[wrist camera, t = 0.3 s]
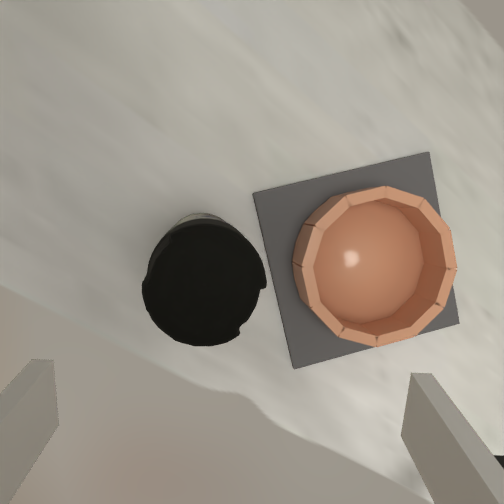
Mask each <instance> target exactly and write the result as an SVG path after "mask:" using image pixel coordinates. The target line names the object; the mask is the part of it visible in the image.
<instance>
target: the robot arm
mask: <svg viewBox="0 0 504 504" xmlns="http://www.w3.org/2000/svg"><path fill="white" fill-rule="evenodd" d="M58 426H59V420H58V408H57V397H56V385H55V373H54V363H53V360H36V359H32V360H31V361H30V362H29V363H28V364H27V365H26V366H25V368H24V369H23V370H22V371H21V372H20V373H19V374H18V375H17V376H16V377H15V378H14V379H13V380H12V381H11V382H10V384H9V385H8V386H7V387H6V388H5V389H4V390H3V391H2V392H1V393H0V504H9V503H10V501H11V500H12V498H13V496H14V495H15V493H16V492H17V490H18V489H19V487H20V485H21V484H22V482H23V481H24V479H25V477H26V476H27V474H28V473H29V471H30V470H31V468H32V467H33V464H34V463H35V462H36V460H37V459H38V457H39V455H40V454H41V452H42V451H43V449H44V447H45V446H46V444H47V443H48V441H49V440H50V438H51V436H52V435H53V433H54V432H55V430H56V429H57V427H58ZM401 437H402V439H403V441H404V443H405V445H406V447H407V449H408V451H409V453H410V455H411V457H412V459H413V461H414V463H415V465H416V467H417V469H418V471H419V473H420V475H421V477H422V479H423V481H424V483H425V485H426V487H427V489H428V491H429V493H430V495H431V497H432V499H433V501H434V503H435V504H504V456H496V455H493V454H492V453H491V452H490V450H489V449H488V448H487V446H486V445H485V444H484V442H483V441H482V440H481V438H480V437H479V436H478V434H477V433H476V432H475V430H474V429H473V428H472V426H471V425H470V424H469V422H468V421H467V420H466V418H465V417H464V416H463V414H462V413H461V412H460V411H459V409H458V408H457V407H456V405H455V404H454V403H453V401H452V400H451V399H450V397H449V396H448V395H447V393H446V392H445V391H444V389H443V388H442V387H441V385H440V384H439V383H438V381H437V380H436V379H435V377H434V376H433V375H432V374H430V373H411V377H410V383H409V389H408V395H407V401H406V407H405V413H404V420H403V426H402V432H401Z"/></svg>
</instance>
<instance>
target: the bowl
mask: <svg viewBox="0 0 504 504" xmlns="http://www.w3.org/2000/svg"><path fill="white" fill-rule="evenodd" d="M449 229H450V228H449V227H448V225H447V224H446V223H445V222H444V221H443V219H442V218H441V217H440V216H439V215H438V214H437V212H436V211H435V210H434V209H433V208H432V206H431V205H430V204H429V203H428V202H427V200H426V199H424V198H423V197H420V196H416V195H413V194H410V193H407V192H404V191H401V190H398V189H395V188H392V187H389V186H379V187H370V188H364V189H360V190H356V191H352V192H346V193H343V194H340V195H335V196H332V197H330V198H329V199H328V200H327V201H326V202H324V203H323V204H322V205H320V206H319V207H318V208H317V209H316V210H315V211H314V212H313V213H312V214H311V215H310V216H309V217H308V219H307V220H306V221H305V222H304V224H303V225H302V228H301V230H300V232H299V234H298V236H297V239H296V242H295V246H294V250H293V258H292V266H293V275H294V280H295V284H296V287H297V289H298V292H299V296H300V298H301V300H302V301H303V302H304V303H305V304H306V305H307V306H308V307H309V309H310V310H311V311H312V312H313V313H314V314H315V315H316V316H317V317H318V318H319V319H320V320H321V321H322V322H323V323H324V324H325V325H326V326H327V327H328V328H329V329H330V330H331V331H332V332H333V333H334V334H335V335H336V336H337V337H339V338H343V339H347V340H351V341H354V342H358V343H362V344H366V345H369V346H373V347H379V346H383V345H387V344H390V343H394V342H398V341H401V340H405V339H408V338H412V337H414V335H415V336H416V335H417V334H418V333H419V332H420V331H421V330H422V329H423V328H424V327H425V326H427V325H428V324H429V323H430V322H431V321H432V320H433V319H434V318H435V317H436V316H437V315H438V314H439V313H440V312H441V311H442V310H443V309H444V308H443V307H445V305H446V302H447V299H448V296H449V293H450V290H451V287H452V284H453V281H454V278H455V275H456V272H457V270H456V268H457V264H456V258H455V252H454V247H453V241H452V235H451V230H449Z"/></svg>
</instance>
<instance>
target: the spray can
mask: <svg viewBox="0 0 504 504" xmlns="http://www.w3.org/2000/svg"><path fill="white" fill-rule="evenodd" d="M266 285H267V280H266V275H265V270H264V266H263V263H262V260H261V258H260V256H259V254H258V253H257V251H256V250H255V248H254V247H253V246H252V244H251V243H250V242H249V241H248V240H247V239H246V238H245V237H244V236H243V235H242V234H241V233H240V232H239V231H238V230H237V229H236V228H234V227H233V226H231V225H230V224H228V223H226V222H225V221H224V220H222V219H221V218H219V217H217V216H214V215H211V214H206V213H197V214H192V215H189V216H187V217H185V218H183V219H181V220H180V221H179V222H178V223H177V224H176V225H175V226H174V227H172V228H171V229H170V230H169V231H168V232H167V233H166V234H165V235H164V237H163V238H162V239H161V240H160V242H159V243H158V244H157V246H156V247H155V249H154V251H153V253H152V255H151V257H150V260H149V264H148V270H147V275H146V277H145V279H144V281H143V283H142V295H143V300H144V303H145V306H146V310H147V311H148V312H149V314H150V316H151V319H152V320H153V321H154V323H155V324H156V325H157V326H158V327H159V328H160V329H161V330H162V331H163V332H165V333H166V334H167V335H169V336H170V337H171V338H173V339H174V340H175V341H178V342H181V343H185V344H189V345H192V346H214V345H219V344H223V343H227V342H229V341H231V340H232V339H234V338H235V337H237V336H239V334H240V331H239V327H240V326H241V325H242V324H244V323H245V322H246V321H247V320H248V319H249V317H250V316H251V314H252V312H253V310H254V309H255V307H256V304H257V301H258V297H259V293H260V289H264V288H266Z"/></svg>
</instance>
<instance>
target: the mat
mask: <svg viewBox="0 0 504 504" xmlns="http://www.w3.org/2000/svg"><path fill="white" fill-rule="evenodd" d="M379 186H389V187H392V188H395V189H398V190H401V191H404V192H407V193H410V194H413V195H416V196H420V197H423V198H424V199H426V200H427V202H428V203H429V204H430V205H431V206H432V208H433V209H434V210H435V211H436V212H437V214H438V215H439V216H440V217H441V215H440V210H439V204H438V198H437V193H436V187H435V181H434V176H433V170H432V164H431V159H430V153H429V152H426V153H421V154H417V155H413V156H409V157H404V158H400V159H396V160H392V161H387V162H383V163H379V164H375V165H371V166H366V167H362V168H358V169H354V170H349V171H345V172H341V173H337V174H332V175H328V176H324V177H320V178H315V179H311V180H307V181H303V182H299V183H294V184H290V185H286V186H282V187H277V188H273V189H269V190H265V191H260V192H256V193H253V197H254V201H255V205H256V210H257V214H258V218H259V223H260V227H261V231H262V236H263V240H264V244H265V249H266V253H267V257H268V261H269V266H270V270H271V274H272V279H273V283H274V287H275V292H276V296H277V300H278V305H279V309H280V313H281V318H282V322H283V326H284V331H285V335H286V339H287V343H288V348H289V352H290V356H291V361H292V365H293V368H294V369H297V368H301V367H304V366H308V365H312V364H315V363H319V362H323V361H326V360H330V359H333V358H337V357H341V356H344V355H348V354H351V353H355V352H359V351H362V350H366V349H369V348H373V346H369V345H366V344H362V343H358V342H354V341H351V340H347V339H343V338H339V337H337V336H336V335H335V334H334V333H333V332H332V331H331V330H330V329H329V328H328V327H327V326H326V325H325V324H324V323H323V322H322V321H321V320H320V319H319V318H318V317H317V316H316V315H315V314H314V313H313V312H312V311H311V310H310V309H309V307H308V306H307V305H306V304H305V303H304V302H303V301H302V300H301V298H300V296H299V292H298V289H297V287H296V284H295V280H294V275H293V266H292V258H293V250H294V246H295V242H296V239H297V236H298V234H299V232H300V230H301V228H302V225H303V224H304V222H305V221H306V220H307V219H308V217H309V216H310V215H311V214H312V213H313V212H314V211H315V210H316V209H317V208H318V207H319V206H320V205H322V204H323V203H324V202H326V201H327V200H328V199H329V198H330V197H332V196H335V195H340V194H343V193H346V192H352V191H356V190H360V189H364V188H370V187H379ZM443 308H444V309H443V310H442V311H441V312H440V313H439V314H438V315H437V316H436V317H435V318H434V319H433V320H432V321H431V322H430V323H429V324H428V325H427V326H425V327H424V328H423V329H422V330H421V331H420V332H419V333H418V334H417V335H420V334H423V333H427V332H431V331H434V330H438V329H441V328H445V327H449V326H452V325H456V324H460V323H459V317H458V311H457V306H456V300H455V294H454V289H453V284H452V287H451V290H450V293H449V296H448V299H447V302H446V305H445V307H443ZM414 336H415V335H414Z"/></svg>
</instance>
